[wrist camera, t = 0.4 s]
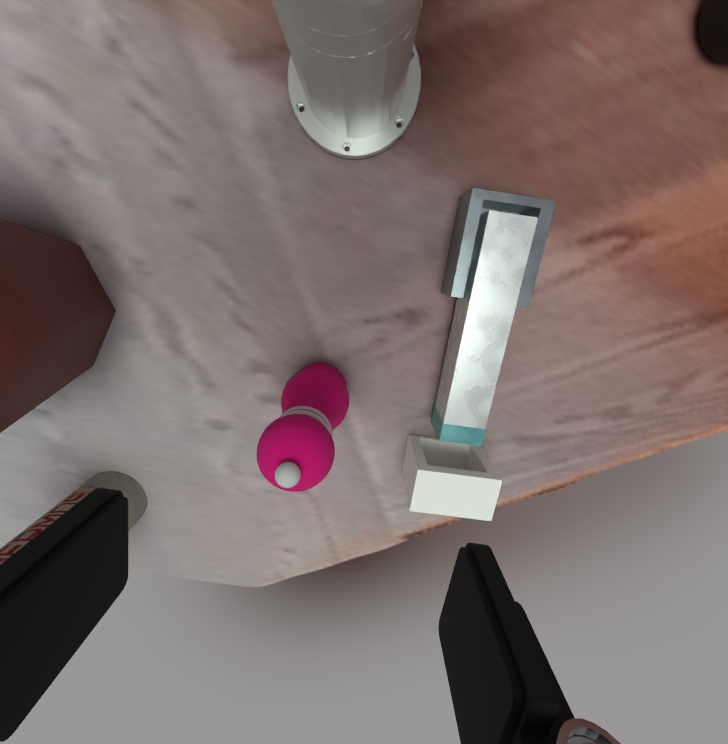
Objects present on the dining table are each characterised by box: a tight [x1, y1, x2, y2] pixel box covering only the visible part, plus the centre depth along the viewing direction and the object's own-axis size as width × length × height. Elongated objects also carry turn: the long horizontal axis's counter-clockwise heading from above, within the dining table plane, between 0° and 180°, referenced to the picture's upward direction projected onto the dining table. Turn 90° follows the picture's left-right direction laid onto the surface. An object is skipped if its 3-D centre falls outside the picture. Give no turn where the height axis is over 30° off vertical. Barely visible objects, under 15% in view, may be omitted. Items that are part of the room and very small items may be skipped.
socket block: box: [402, 435, 502, 521], centre depth 43 cm, size 5×9×8 cm, turn 82°
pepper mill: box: [257, 363, 349, 492], centre depth 35 cm, size 7×7×20 cm
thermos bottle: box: [0, 472, 147, 564], centre depth 35 cm, size 8×8×28 cm
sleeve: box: [441, 188, 556, 307], centre depth 37 cm, size 10×8×5 cm
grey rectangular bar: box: [431, 210, 538, 446], centre depth 39 cm, size 23×5×5 cm, turn 172°
